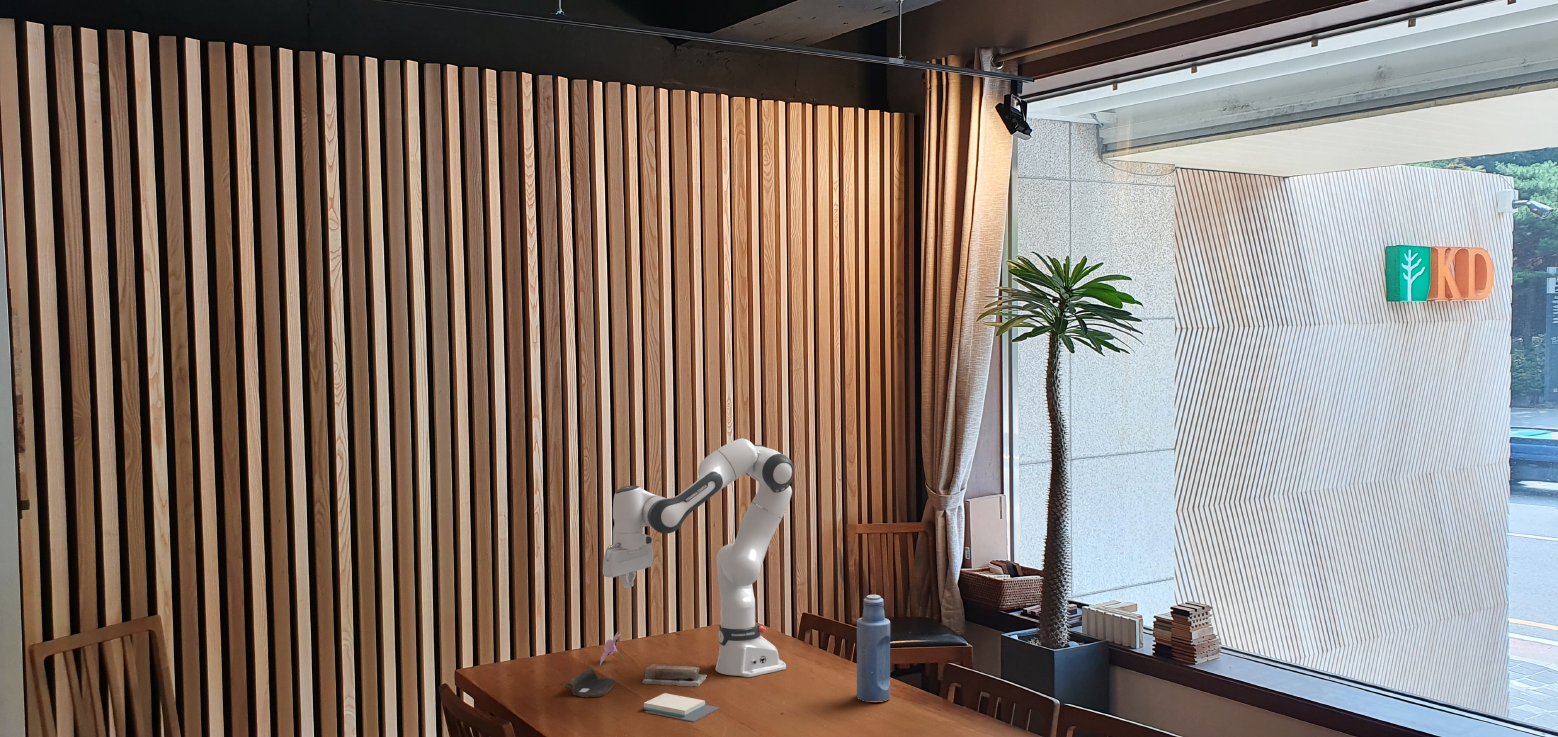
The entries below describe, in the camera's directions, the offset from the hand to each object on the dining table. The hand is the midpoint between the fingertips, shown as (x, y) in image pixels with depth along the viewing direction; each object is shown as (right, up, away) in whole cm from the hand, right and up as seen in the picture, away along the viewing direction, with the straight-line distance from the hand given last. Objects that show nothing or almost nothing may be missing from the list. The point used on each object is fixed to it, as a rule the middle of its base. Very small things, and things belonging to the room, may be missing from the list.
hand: (628, 586), depth 326 cm
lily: (-10, -31, +32) cm, 45 cm away
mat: (+18, -31, -18) cm, 40 cm away
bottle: (+72, -31, -7) cm, 79 cm away
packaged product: (+13, -32, +11) cm, 36 cm away
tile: (+9, -30, -13) cm, 34 cm away
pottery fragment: (-11, -32, +1) cm, 34 cm away
